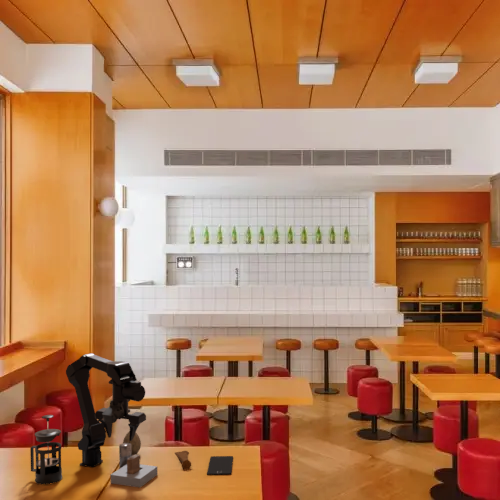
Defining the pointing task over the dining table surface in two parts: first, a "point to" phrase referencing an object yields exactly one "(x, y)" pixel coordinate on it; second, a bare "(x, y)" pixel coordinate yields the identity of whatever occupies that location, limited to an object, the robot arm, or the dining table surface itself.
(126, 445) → the round metal peg
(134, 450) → the decorative egg
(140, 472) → the slotted block
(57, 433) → the french press
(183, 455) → the primitive tool
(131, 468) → the walnut bar
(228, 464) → the cell phone
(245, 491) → the dining table surface
